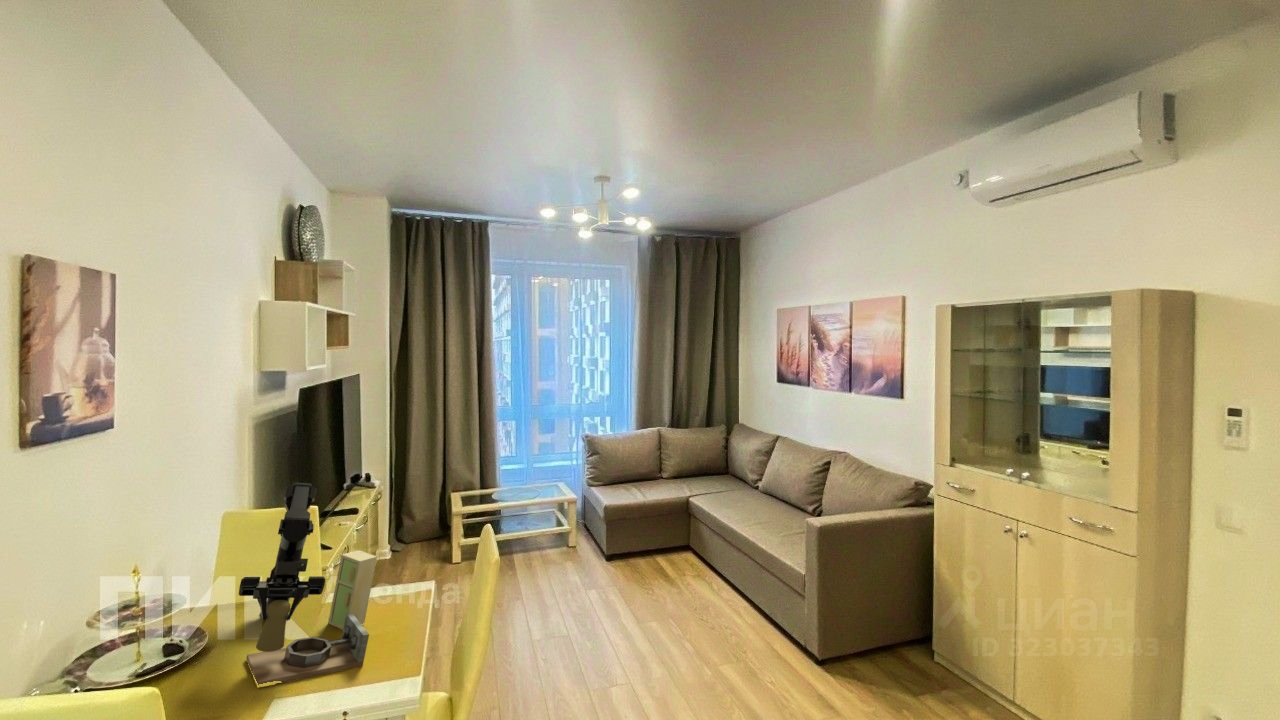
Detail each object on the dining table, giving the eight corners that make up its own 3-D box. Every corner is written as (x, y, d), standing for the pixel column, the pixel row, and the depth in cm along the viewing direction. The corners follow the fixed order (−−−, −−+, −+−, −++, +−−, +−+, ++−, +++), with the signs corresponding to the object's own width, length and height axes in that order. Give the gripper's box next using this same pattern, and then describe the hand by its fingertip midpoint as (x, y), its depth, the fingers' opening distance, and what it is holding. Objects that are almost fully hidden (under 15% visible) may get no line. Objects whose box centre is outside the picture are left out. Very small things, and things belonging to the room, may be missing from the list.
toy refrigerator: (324, 624, 167) (339, 554, 169) (345, 616, 174) (359, 549, 175) (343, 633, 164) (358, 561, 166) (364, 625, 171) (378, 556, 172)
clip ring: (281, 652, 146) (285, 633, 146) (346, 641, 157) (349, 623, 158) (290, 670, 139) (294, 650, 140) (357, 657, 150) (361, 638, 151)
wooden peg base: (245, 660, 143) (253, 627, 143) (345, 642, 159) (352, 612, 160) (257, 688, 133) (265, 652, 133) (362, 666, 149) (369, 634, 150)
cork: (269, 654, 137) (279, 609, 137) (249, 646, 138) (259, 602, 139) (289, 644, 143) (299, 601, 143) (271, 637, 144) (280, 594, 145)
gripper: (248, 545, 141) (232, 608, 131) (332, 546, 150) (322, 606, 140) (246, 564, 147) (230, 626, 137) (326, 564, 156) (316, 622, 146)
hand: (276, 619), depth 140 cm, fingers closed on cork, 5 cm apart
